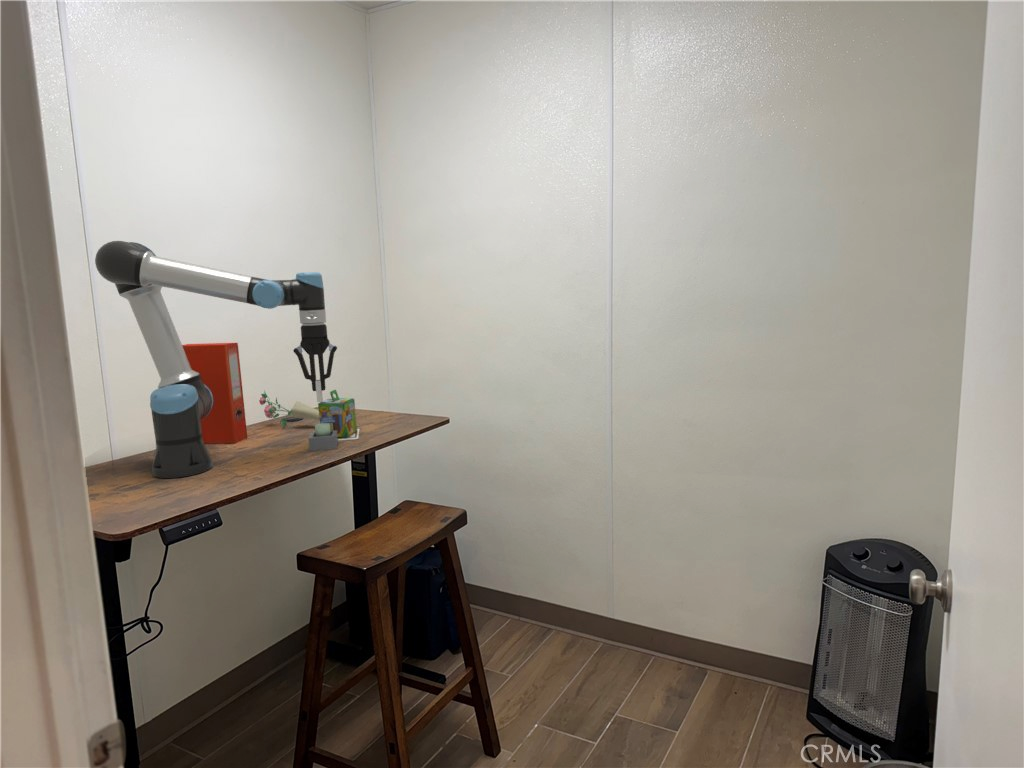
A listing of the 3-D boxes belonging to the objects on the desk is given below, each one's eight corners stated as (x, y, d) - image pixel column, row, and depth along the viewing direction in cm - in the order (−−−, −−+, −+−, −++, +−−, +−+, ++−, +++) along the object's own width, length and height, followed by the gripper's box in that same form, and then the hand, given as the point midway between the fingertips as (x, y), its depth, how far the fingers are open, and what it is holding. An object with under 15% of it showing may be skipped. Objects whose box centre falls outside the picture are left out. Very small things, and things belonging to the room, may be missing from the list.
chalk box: (347, 438, 215) (343, 392, 213) (320, 438, 217) (316, 393, 214) (358, 431, 224) (354, 387, 222) (332, 431, 226) (328, 388, 223)
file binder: (200, 437, 226) (189, 343, 221) (248, 437, 224) (237, 342, 218) (185, 443, 218) (173, 346, 213) (234, 443, 216) (223, 345, 210)
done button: (315, 439, 204) (314, 426, 203) (316, 436, 208) (315, 423, 208) (330, 438, 205) (329, 425, 204) (331, 435, 209) (330, 422, 208)
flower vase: (335, 451, 230) (247, 427, 238) (353, 433, 240) (268, 410, 248) (334, 423, 224) (243, 399, 232) (352, 405, 234) (265, 383, 242)
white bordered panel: (319, 442, 213) (319, 441, 212) (323, 432, 226) (323, 431, 226) (357, 439, 215) (357, 438, 215) (359, 429, 228) (359, 428, 228)
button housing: (309, 451, 202) (308, 438, 202) (312, 444, 210) (311, 432, 210) (336, 448, 204) (335, 435, 203) (338, 442, 212) (337, 430, 211)
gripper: (289, 326, 196) (296, 405, 200) (335, 323, 199) (341, 401, 203) (292, 324, 204) (299, 400, 207) (336, 322, 206) (342, 397, 210)
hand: (320, 401), depth 205 cm, fingers closed
